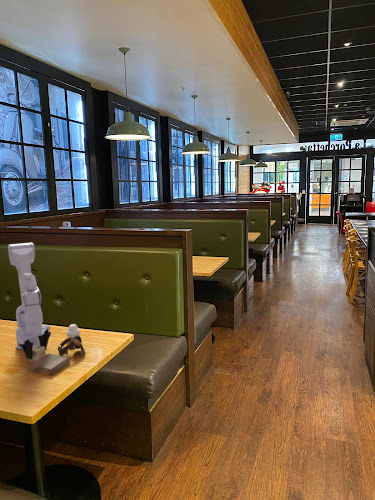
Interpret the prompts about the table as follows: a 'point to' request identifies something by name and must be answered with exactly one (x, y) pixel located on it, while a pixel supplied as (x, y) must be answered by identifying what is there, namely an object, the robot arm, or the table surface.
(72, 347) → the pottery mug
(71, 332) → the white rounded piece
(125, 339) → the table surface
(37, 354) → the maple cube
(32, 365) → the grey flat square block
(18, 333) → the robot arm
